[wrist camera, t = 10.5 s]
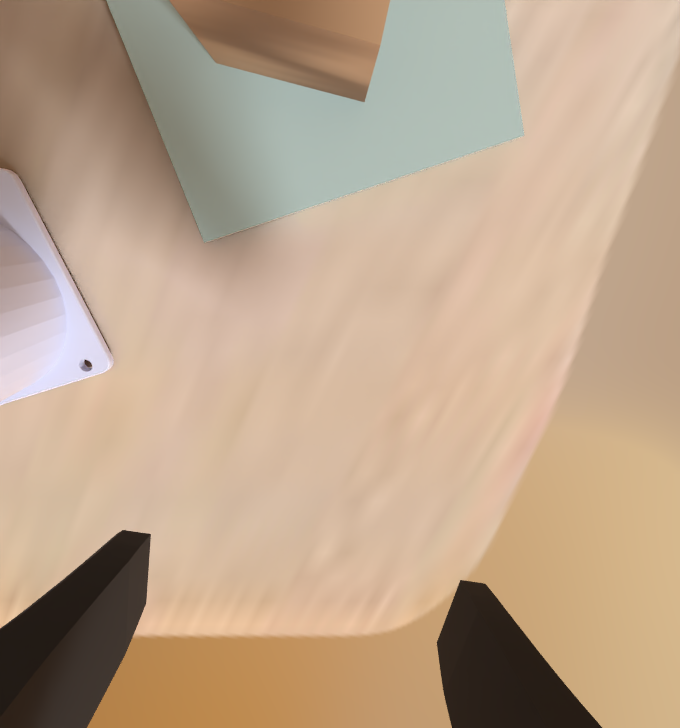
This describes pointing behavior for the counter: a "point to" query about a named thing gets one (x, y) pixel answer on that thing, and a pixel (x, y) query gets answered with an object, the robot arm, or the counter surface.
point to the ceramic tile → (322, 110)
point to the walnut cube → (293, 39)
